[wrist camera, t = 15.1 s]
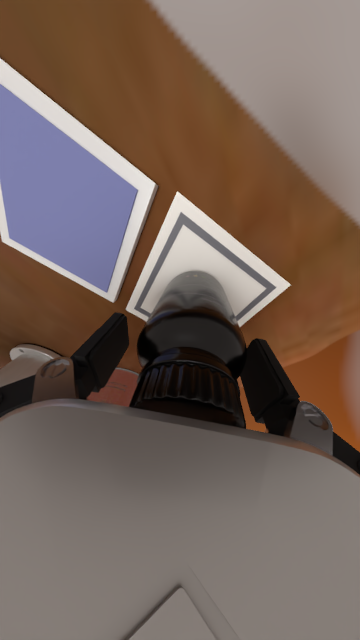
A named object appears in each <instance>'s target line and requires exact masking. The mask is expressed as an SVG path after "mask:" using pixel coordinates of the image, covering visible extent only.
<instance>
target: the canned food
mask: <svg viewBox="0 0 360 640" xmlns="http://www.w3.org/2000/svg"><path fill="white" fill-rule="evenodd" d="M138 376H139V374H138V373H136V372H133V371H131V370H127V369H123V368H115V370H114V372H113V374H112V375H111V377H110V379H109V380H108V382H107V384H106V386H105V387H104V388H101V390H100V391H99V393H96V392H91V394H90V395H89V396H88V399H89V400H90V401H96V402H102V403H108V404H115V405H120V406H126V407H129V404H130V401H131V399H132V396H133V394H134V391H135V389H136V386H137V379H138Z"/></svg>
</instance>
